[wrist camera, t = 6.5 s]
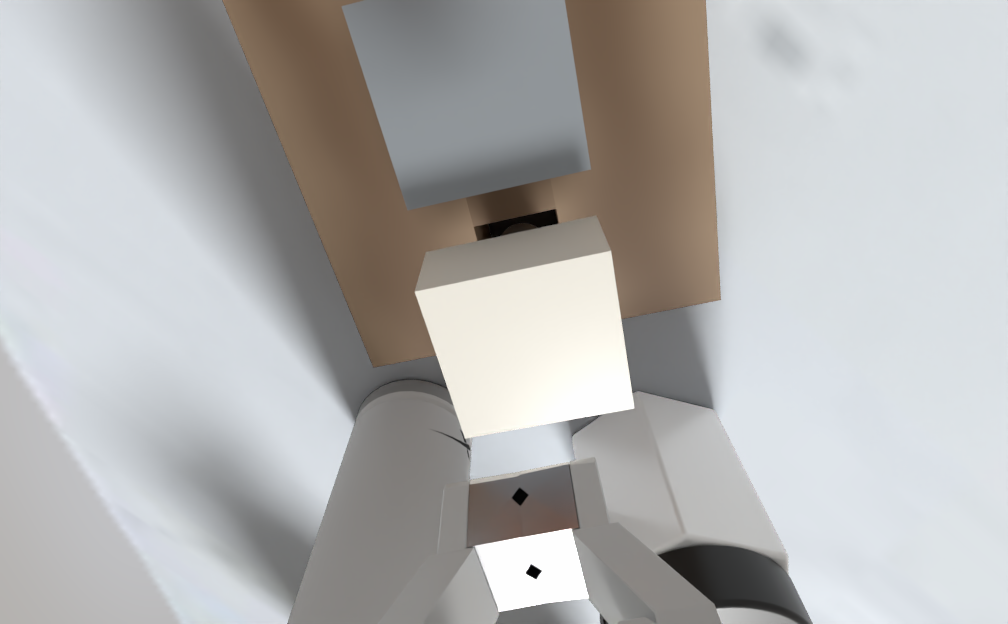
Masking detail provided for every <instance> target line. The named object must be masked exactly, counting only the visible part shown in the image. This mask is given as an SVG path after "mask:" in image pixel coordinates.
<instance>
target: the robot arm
mask: <svg viewBox="0 0 1008 624" xmlns="http://www.w3.org/2000/svg"><path fill="white" fill-rule="evenodd" d="M581 598H589V601H590V602H591V603H592V604H593V605H594V607H595V608H596V609H597V610H598V611H599V613H600V614H601V615H602V616H603V617H604V619H605V620H606V621H607V622H608V624H722V623H721V621H720V618H719V615H718V613H717V610H716V607H715V604H714V603H713V602H711V601H710V600H709V599H708V598H707V597H705V596H704V595H703V594H702V593H701V592H700V591H698V590H697V589H696V588H695V587H694V586H693V585H691V584H690V583H689V582H688V581H687V580H686V579H684V578H683V577H682V576H681V575H680V574H679V573H677V572H676V571H675V570H674V569H673V568H672V567H670V566H669V565H668V564H667V563H666V562H665V561H663V560H662V559H661V558H660V557H659V556H658V555H656V554H655V553H654V552H653V551H652V550H650V549H649V548H648V547H647V546H646V545H645V544H643V543H642V542H641V541H640V540H639V539H638V538H636V537H635V536H634V535H633V534H632V533H631V532H629V531H628V530H627V529H626V528H625V527H624V526H622V525H621V524H620V523H619V522H616V523H610V518H609V514H608V509H607V505H606V501H605V496H604V492H603V487H602V483H601V479H600V474H599V470H598V465H597V461H596V459H595V457H590V458H585V459H580V460H575V461H570V464H569V462H566V463H561V464H556V465H551V466H546V467H540V468H535V469H530V470H525V471H520V472H516V473H509V474H503V475H497V476H491V477H484V478H478V479H472V480H470V481H463V482H457V483H450V484H446V486H445V488H444V490H443V498H442V508H441V518H440V528H439V538H438V548H437V554H433V555H429V557H428V558H427V559H426V560H425V562H424V563H423V564H422V566H421V567H420V568H419V570H418V571H417V572H416V574H415V575H414V576H413V578H412V579H411V580H410V582H409V583H408V584H407V586H406V587H405V588H404V589H403V591H402V592H401V593H400V595H399V596H398V597H397V599H396V600H395V601H394V603H393V604H392V605H391V607H390V608H389V609H388V611H387V612H386V613H385V615H384V616H383V617H382V619H381V620H380V621H379V622H378V624H495V623H496V621H497V619H498V617H499V613H498V612H502V611H507V610H512V609H518V608H523V607H528V606H533V605H538V604H544V603H551V602H558V601H566V600H573V599H581Z"/></svg>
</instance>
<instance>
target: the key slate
mask: <svg viewBox="0 0 1008 624" xmlns="http://www.w3.org/2000/svg"><path fill="white" fill-rule="evenodd" d="M341 7H342V10H343V13H344V16H345V19H346V22H347V25H348V28H349V31H350V34H351V37H352V40H353V44H354V47H355V50H356V53H357V56H358V59H359V62H360V65H361V68H362V71H363V74H364V78H365V81H366V84H367V87H368V90H369V93H370V96H371V99H372V102H373V105H374V108H375V111H376V115H377V118H378V121H379V124H380V127H381V130H382V133H383V136H384V139H385V142H386V145H387V148H388V152H389V155H390V158H391V161H392V164H393V167H394V170H395V173H396V176H397V179H398V182H399V186H400V189H401V192H402V195H403V198H404V201H405V204H406V207H407V210H412V209H417V208H421V207H425V206H430V205H434V204H439V203H443V202H448V201H452V200H457V199H461V198H466V197H470V196H475V195H479V194H484V193H488V192H492V191H497V190H501V189H506V188H510V187H515V186H519V185H524V184H528V183H533V182H537V181H542V180H546V179H550V178H555V177H559V176H564V175H568V174H573V173H577V172H582V171H586V170H591V166H590V159H589V153H588V146H587V140H586V134H585V127H584V121H583V114H582V108H581V101H580V95H579V89H578V82H577V76H576V69H575V63H574V56H573V50H572V44H571V37H570V31H569V24H568V18H567V11H566V5H565V0H363V1H360V2H356V3H352V4H348V5H345V6H341Z"/></svg>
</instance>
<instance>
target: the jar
mask: <svg viewBox="0 0 1008 624" xmlns="http://www.w3.org/2000/svg"><path fill="white" fill-rule="evenodd" d="M632 395H633V402H634V409H629V410H623V411H618V412H612V413H606V414H603V415H601V416H600V417H599V418H597V419H596V420H594V421H593V422H591V423H590V424H588V425H587V426H586V427H584V428H583V429H581V430H580V431H578V432H577V433H575V434H574V435H573V436H572V443H573V450H574V456H575V460H580V459H585V458H590V457H595V459H596V461H597V465H598V470H599V474H600V479H601V483H602V487H603V492H604V496H605V501H606V505H607V509H608V514H609V518H610V523H616V522H619V523H620V524H621V525H622V526H624V527H625V528H626V529H627V530H628V531H629V532H631V533H632V534H633V535H634V536H635V537H636V538H638V539H639V540H640V541H641V542H642V543H643V544H645V545H646V546H647V547H648V548H649V549H650V550H652V551H653V552H654V553H655V554H656V555H658V556H659V557H660V558H661V559H662V560H663V561H665V562H666V563H667V564H668V565H669V566H670V567H672V568H673V569H674V570H675V571H676V572H677V573H679V574H680V575H681V576H682V577H683V578H684V579H686V580H687V581H688V582H689V583H690V584H691V585H693V586H694V587H695V588H696V589H697V590H698V591H700V592H701V593H702V594H703V595H704V596H705V597H707V598H708V599H709V600H710V601H711V602H713V603H714V604H715V607H716V610H717V613H718V615H719V618H720V621H721V623H722V624H813V623H812V621H811V619H810V617H809V615H808V613H807V611H806V609H805V607H804V605H803V603H802V601H801V599H800V597H799V595H798V593H797V591H796V589H795V586H794V584H793V582H792V580H791V578H790V577H789V557H788V554H787V552H786V550H785V548H784V546H783V544H782V542H781V540H780V538H779V536H778V534H777V532H776V530H775V528H774V526H773V524H772V522H771V520H770V518H769V516H768V514H767V512H766V510H765V508H764V506H763V504H762V502H761V500H760V498H759V496H758V494H757V492H756V490H755V488H754V486H753V484H752V483H751V481H750V479H749V477H748V475H747V473H746V471H745V469H744V467H743V465H742V463H741V461H740V459H739V457H738V455H737V453H736V451H735V449H734V447H733V445H732V443H731V441H730V439H729V437H728V435H727V433H726V431H725V429H724V427H723V425H722V423H721V421H720V419H719V417H718V415H717V413H716V411H715V410H713V409H710V408H706V407H702V406H697V405H693V404H689V403H685V402H681V401H677V400H673V399H669V398H664V397H660V396H656V395H652V394H648V393H644V392H640V391H637V392H634V393H633V394H632ZM600 623H601V624H608V622H607V621H606V620H605V619H604V617H603V616H602V615H601V614H600Z"/></svg>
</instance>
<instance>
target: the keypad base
mask: <svg viewBox="0 0 1008 624" xmlns="http://www.w3.org/2000/svg"><path fill="white" fill-rule="evenodd" d="M222 1H223V3H224V6H225V8H226V10H227V13H228V15H229V18H230V20H231V23H232V25H233V27H234V30H235V32H236V35H237V37H238V40H239V42H240V44H241V47H242V49H243V52H244V54H245V57H246V59H247V61H248V64H249V66H250V69H251V71H252V74H253V76H254V78H255V81H256V83H257V86H258V88H259V91H260V93H261V95H262V98H263V100H264V103H265V105H266V108H267V110H268V112H269V115H270V117H271V120H272V122H273V125H274V127H275V129H276V132H277V134H278V137H279V139H280V142H281V144H282V146H283V149H284V151H285V154H286V156H287V159H288V161H289V163H290V166H291V168H292V171H293V173H294V176H295V178H296V180H297V183H298V185H299V188H300V190H301V193H302V195H303V197H304V200H305V202H306V205H307V207H308V210H309V212H310V214H311V217H312V219H313V222H314V224H315V227H316V229H317V231H318V234H319V236H320V239H321V241H322V244H323V246H324V248H325V251H326V253H327V256H328V258H329V261H330V263H331V265H332V268H333V270H334V273H335V275H336V278H337V280H338V282H339V285H340V287H341V290H342V292H343V295H344V297H345V299H346V302H347V304H348V307H349V309H350V312H351V314H352V316H353V319H354V321H355V324H356V326H357V329H358V331H359V333H360V336H361V338H362V341H363V343H364V346H365V348H366V350H367V353H368V355H369V358H370V360H371V363H372V365H373V367H379V366H384V365H390V364H395V363H400V362H405V361H410V360H415V359H420V358H425V357H431V356H436V353H435V350H434V347H433V344H432V341H431V338H430V335H429V332H428V329H427V326H426V323H425V320H424V318H423V315H422V312H421V309H420V306H419V303H418V300H417V297H416V294H415V289H416V285H417V282H418V278H419V275H420V271H421V268H422V264H423V261H424V257H425V254H426V252H429V251H434V250H438V249H443V248H448V247H452V246H457V245H462V244H466V243H471V242H476V241H480V240H485V239H489V238H492V236H491V232H490V228H489V223H493V222H498V221H502V220H507V219H512V218H516V217H521V216H525V215H530V214H535V213H539V212H544V211H548V210H553V209H554V211H555V216H556V221H557V224H559V223H564V222H568V221H573V220H578V219H582V218H587V217H592V216H597V218H598V221H599V223H600V225H601V228H602V230H603V233H604V235H605V237H606V240H607V242H608V245H609V247H610V249H611V254H612V260H613V267H614V274H615V281H616V287H617V294H618V301H619V307H620V314H621V319H625V318H630V317H635V316H641V315H646V314H651V313H656V312H661V311H666V310H671V309H676V308H682V307H687V306H692V305H697V304H702V303H707V302H712V301H717V300H721V296H720V276H719V256H718V236H717V216H716V196H715V176H714V156H713V136H712V116H711V96H710V76H709V56H708V36H707V16H706V0H565V5H566V11H567V18H568V24H569V31H570V37H571V44H572V50H573V56H574V63H575V69H576V76H577V82H578V89H579V95H580V101H581V108H582V114H583V121H584V127H585V134H586V140H587V146H588V153H589V159H590V166H591V170H586V171H582V172H577V173H573V174H568V175H564V176H559V177H555V178H550V179H546V180H542V181H537V182H533V183H528V184H524V185H519V186H515V187H510V188H506V189H501V190H497V191H492V192H488V193H484V194H479V195H475V196H470V197H466V198H461V199H457V200H452V201H448V202H443V203H439V204H434V205H430V206H425V207H421V208H417V209H412V210H407V207H406V204H405V201H404V198H403V195H402V192H401V189H400V186H399V182H398V179H397V176H396V173H395V170H394V167H393V164H392V161H391V158H390V155H389V152H388V148H387V145H386V142H385V139H384V136H383V133H382V130H381V127H380V124H379V121H378V118H377V115H376V111H375V108H374V105H373V102H372V99H371V96H370V93H369V90H368V87H367V84H366V81H365V78H364V74H363V71H362V68H361V65H360V62H359V59H358V56H357V53H356V50H355V47H354V44H353V40H352V37H351V34H350V31H349V28H348V25H347V22H346V19H345V16H344V13H343V10H342V7H341V6H345V5H348V4H352V3H356V2H360V1H363V0H222Z"/></svg>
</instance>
